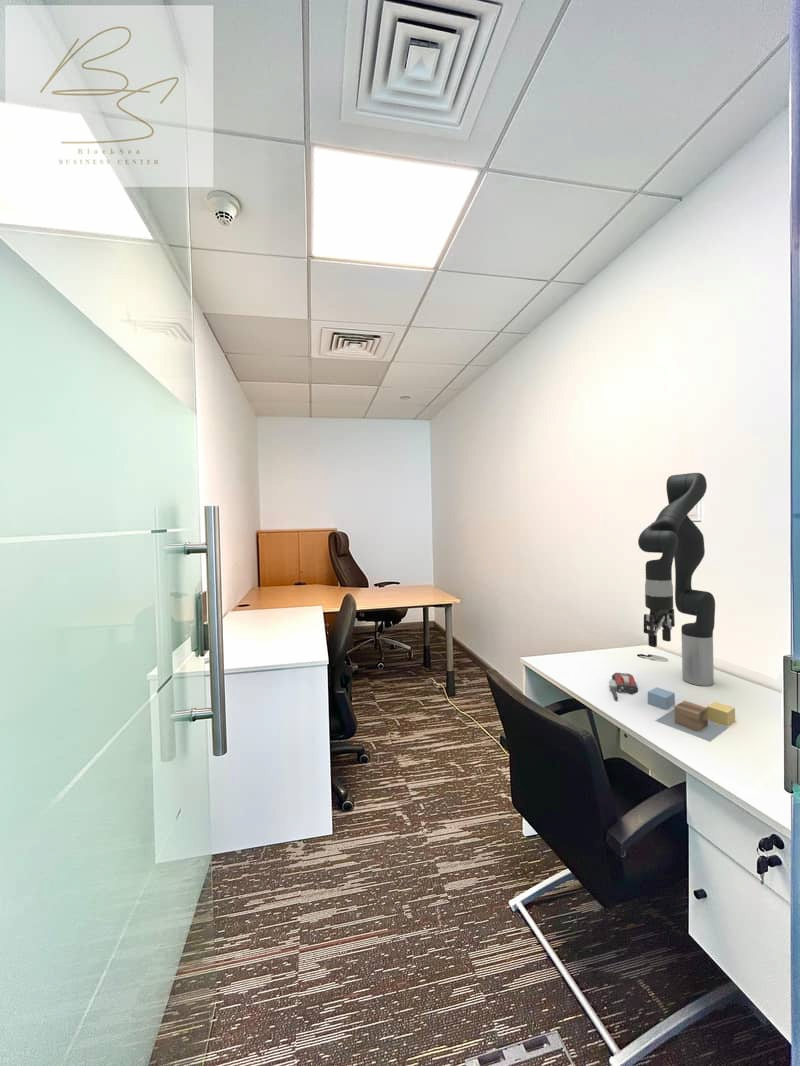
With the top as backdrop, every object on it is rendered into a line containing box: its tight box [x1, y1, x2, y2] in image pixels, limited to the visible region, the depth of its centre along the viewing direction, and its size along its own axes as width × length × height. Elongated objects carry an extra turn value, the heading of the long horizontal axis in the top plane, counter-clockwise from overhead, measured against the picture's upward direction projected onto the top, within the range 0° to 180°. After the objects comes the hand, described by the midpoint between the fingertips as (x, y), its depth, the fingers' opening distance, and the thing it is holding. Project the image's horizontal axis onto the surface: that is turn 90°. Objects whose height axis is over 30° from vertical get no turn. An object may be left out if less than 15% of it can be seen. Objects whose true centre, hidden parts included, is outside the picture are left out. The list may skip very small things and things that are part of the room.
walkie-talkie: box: [608, 672, 639, 700], centre depth 145 cm, size 9×4×20 cm
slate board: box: [655, 709, 730, 742], centre depth 119 cm, size 12×14×1 cm
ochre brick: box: [706, 701, 736, 727], centre depth 120 cm, size 5×5×5 cm
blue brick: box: [647, 687, 676, 711], centre depth 132 cm, size 6×6×5 cm
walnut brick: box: [673, 700, 708, 731], centre depth 119 cm, size 6×6×5 cm
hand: (659, 643), depth 131 cm, fingers open, 8 cm apart
